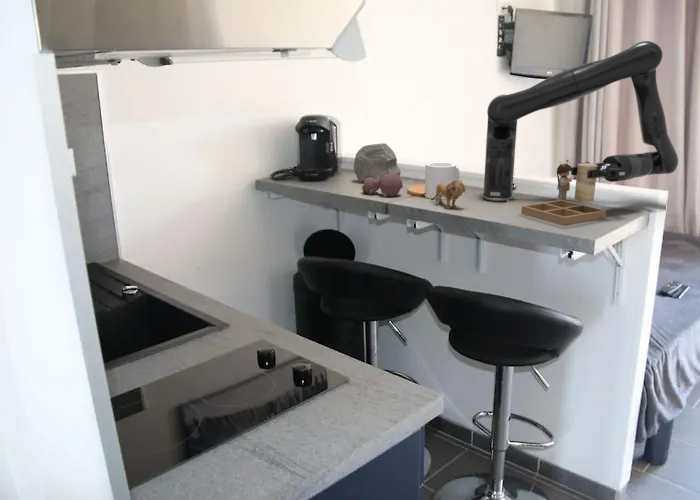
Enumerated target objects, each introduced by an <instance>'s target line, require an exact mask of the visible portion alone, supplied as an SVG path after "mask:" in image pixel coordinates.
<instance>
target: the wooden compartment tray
mask: <svg viewBox="0 0 700 500" xmlns="http://www.w3.org/2000/svg"><path fill="white" fill-rule="evenodd" d="M520 214H521V215H524V216H527V217H531V218H535V219H538V220H541V221H545V222H548V223H552V224H554V225H555V224H556V225H559V226H562V227H566V226H573V225H577V224H583V223H587V222H593V221H599V220H604V219H606V217H607V210H606V209H602V208H598V207H594V206H590V205H586V204H581V203H578V202H573V201H569V200H567V199H566V200H557V199H556V200H551V201H545V202H539V203H532V204H526V205H521V212H520Z"/></svg>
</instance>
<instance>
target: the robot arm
mask: <svg viewBox="0 0 700 500" xmlns="http://www.w3.org/2000/svg"><path fill="white" fill-rule="evenodd" d="M662 60H663V50H662V47H660V45H659V44H658V43H656V42H654V41H650V40H642V41H639V42H637V43H634V44H632V45H631V46H630V47H629V48H626V49H625V50H622V51H620V52H618V53H616V54H614V55H612V56H609V57H607V58H603V59H598V60H595V61H591V62H588V63H584V64H580V65H576V66H573V67H571V68H569V69H566V70H563V71H560V72H558V73H556V74H554V75H552V76H549V77H547V78H546V79H544V80H542V81H540V82H538V83H537V84H535V85H533V86H531V87H528V88H526V89H523V90H520V91H516V92H513V93H509V94H499V95H497V96H495V97H494V98H492V100H491V101H490V102H489V104H488V106H487V111H486V112H487V113H486V114H487V125H486V127H487V128H486V137H485V156H484V157H485V159H484V175H483V176H484V178H483V193H482V199H483V200H486V201H490V202H507V201H511V200H513V191H514V189H515V188H514V187H513V186H514V185H513V182H514V177H513V175H514V176H515V174H514V172H515V158H516V143H517V131H518V130H517V129H518V128H517V126H518V120H520V119H522V118H523V117H526V116H527V115H528V116H529V115H530V114H533V113H536V112H538V111H541V110H545V109H549V108H553V107H557V106H560V105H564V104H567V103H569V102H573V101H575V100H578V99H580V98H583V97H586V96H588V95H590V94H592V93H595V92H597V91H598V90H601V89H603V88H606V87H607V86H609V85H611V84H613V83H616V82H620V81H621V80H626V79H630V80H631V82H632V85H633V86H632V87H633V90H634V94H635V99H636V106H637V114H638V120H639V121H638V122H639V128H640V134H641V140H642V143H643V144H645V145H647V146H653V148H654V149H655V150H656V151H647V152H642V153H640V152H639V153H624V154H614V155H609V156H607V157H605V158H604V159H603V160H602V161H597V162H589V161H586V162H581V163H580V164H595V165H597V169H595V170H589V171H588V174H587V178H590V179H591V178H596V179H604V180H605V181H607V182H609V183H616V182H621V181H622V182H623V181H629V180H633V179H636V178H643V177H645V176H655V175H668V174H669V175H670V174H672V173H674V172H675V171H676V170H677V169H678V165H679V156H678V153H677V151H676V149H675V146H674V145H673V142H672V141H671V138H670V136H669V133H668V126H667V120H666V115H665V111H664V110H665V109H664V107H663V103H662V99H661V97H660V93H659V88H658V82H657V68H658V67H659V66H660V65H661V62H662ZM578 164H579V163H577V164H576V166H571V167H572V169H571V172H570V175H571V176H577V168H578Z"/></svg>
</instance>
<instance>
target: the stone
mask: <svg viewBox="0 0 700 500" xmlns="http://www.w3.org/2000/svg"><path fill="white" fill-rule="evenodd" d="M353 171H354V174H355V176H356V179H357V180H359V181H360V182H364V180H365V179H366V178H369V177H372V178H375V179H376V180H377V177H379V179H381V178H382V177H383V176H384V175H386V174H391V173H393V174H397V175H398V176H399V177H400V178H401V173H402V172H401V168H399V166H398V158H397V156H396V154H395V152H394V150H393V149H392V148H391V147H390V146H389V145H388V144H387V143H385V142H384V143H383V142H382V143H373V144H367V145H362V147H361V148H359V150H357V152H356V154H355V157H354V160H353Z"/></svg>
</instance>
